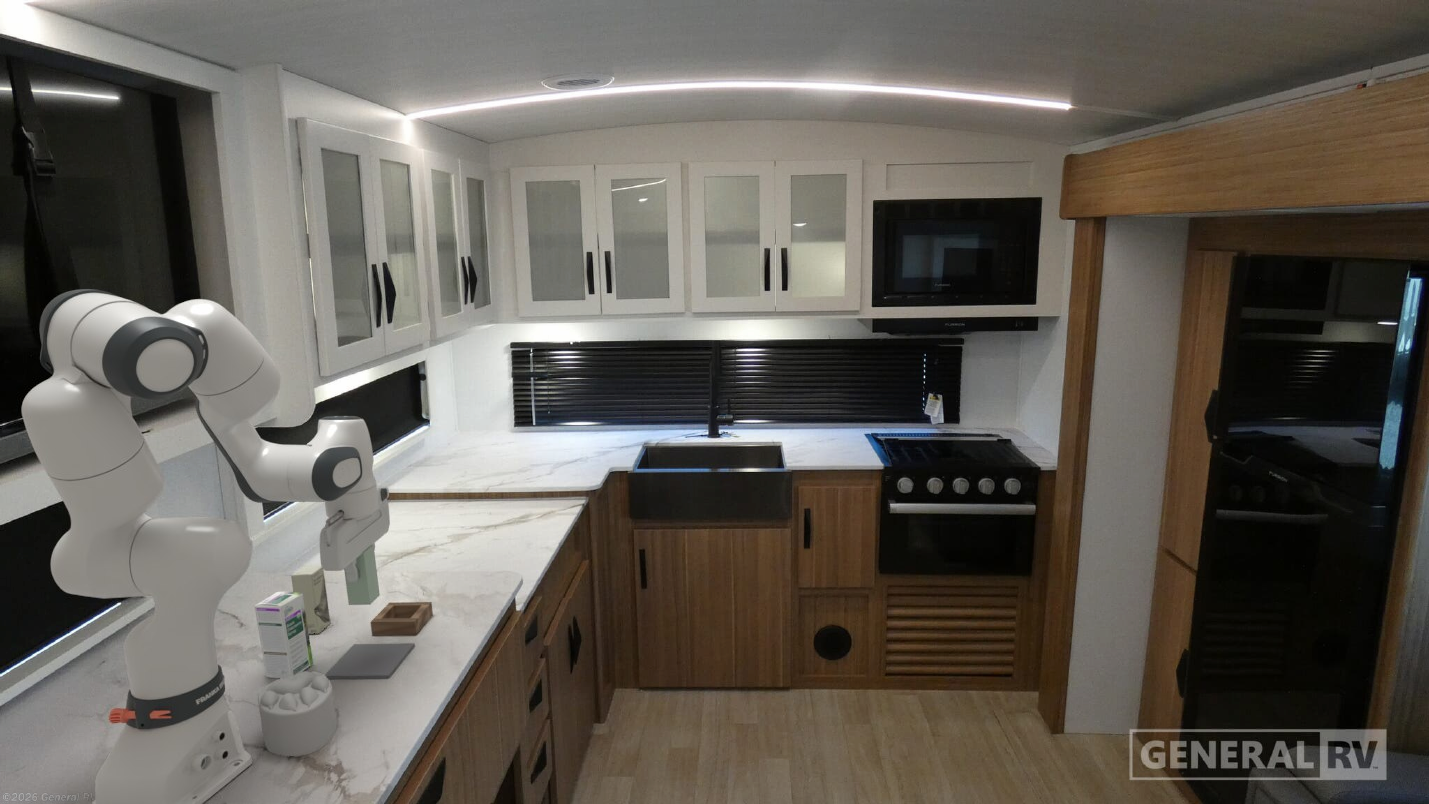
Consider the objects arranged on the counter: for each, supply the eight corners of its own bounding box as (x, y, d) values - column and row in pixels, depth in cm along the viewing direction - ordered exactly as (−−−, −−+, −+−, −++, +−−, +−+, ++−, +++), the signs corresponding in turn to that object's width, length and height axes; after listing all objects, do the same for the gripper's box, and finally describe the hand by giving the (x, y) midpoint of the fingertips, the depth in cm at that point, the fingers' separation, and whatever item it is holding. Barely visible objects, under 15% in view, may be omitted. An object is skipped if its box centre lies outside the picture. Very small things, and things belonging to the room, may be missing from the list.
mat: (389, 678, 149) (388, 675, 149) (323, 679, 150) (323, 676, 150) (415, 646, 161) (414, 643, 161) (354, 646, 162) (354, 644, 161)
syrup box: (292, 680, 150) (282, 605, 147) (264, 677, 151) (253, 603, 148) (313, 664, 155) (304, 592, 152) (286, 662, 156) (276, 590, 154)
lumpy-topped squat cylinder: (328, 705, 141) (321, 659, 139) (345, 741, 131) (339, 691, 129) (259, 728, 135) (252, 679, 133) (272, 767, 125) (264, 714, 123)
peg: (370, 604, 151) (363, 553, 149) (348, 604, 151) (342, 553, 149) (379, 595, 155) (373, 544, 153) (358, 595, 155) (352, 545, 153)
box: (319, 634, 167) (311, 574, 165) (297, 635, 167) (289, 575, 165) (331, 622, 172) (324, 564, 170) (310, 623, 172) (303, 565, 170)
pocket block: (416, 635, 166) (414, 621, 165) (372, 635, 166) (370, 622, 165) (432, 615, 174) (431, 601, 174) (390, 615, 175) (389, 602, 174)
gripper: (341, 522, 139) (351, 598, 142) (392, 485, 159) (400, 552, 162) (305, 522, 139) (315, 599, 142) (360, 485, 159) (368, 553, 162)
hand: (361, 574), depth 152 cm, fingers closed on peg, 4 cm apart
